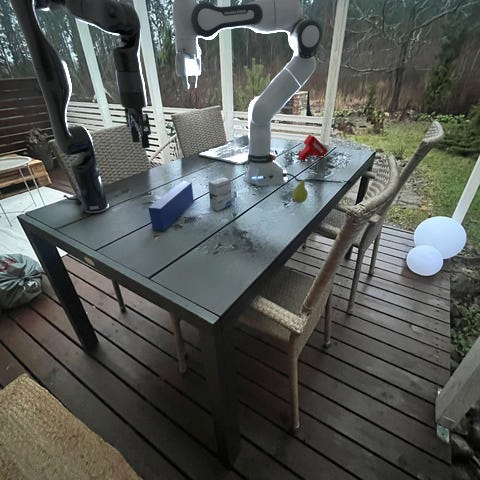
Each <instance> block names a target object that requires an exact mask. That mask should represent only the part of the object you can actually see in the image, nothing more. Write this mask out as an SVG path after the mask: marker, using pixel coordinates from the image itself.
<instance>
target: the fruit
mask: <svg viewBox="0 0 480 480" xmlns="http://www.w3.org/2000/svg"><path fill="white" fill-rule="evenodd" d="M310 177H311V175H310V174H309V175H308V176H307V177H305V179H301V180H302V181H299V182H298V184H297V185H296V186H295V187H294V188H293V190H292V191H291V198H292V200H293V201H294V202H295V203H297V204H301V203H304V202H305V201H306V200H307V198H308V196H309V195H308V190H307V189H306V184H305V183H306V181H305V180H306V179H310Z"/></svg>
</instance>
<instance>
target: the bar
mask: <svg viewBox="0 0 480 480" xmlns="http://www.w3.org/2000/svg"><path fill="white" fill-rule="evenodd" d="M194 201H195V200H194V192H193V183H192V181H182V180H181V181H180V182H179V183H177V184H176V185H175V186H174V187H172V188H170V190H168V191H167V192H166V193H164V194H163V195H162V196H161V197H159V198H158V199H157V200H156V201H155V202H153V203H152V204H151V205H149V206H148V212H149V213H148V214H149V217H150V222H151V227H152V230H153V231H158V232H166V230H167V229H169V227H170V226H172V224H173V223H174V222H175V221H176V220H177V219H178V218H179V217H180V216H181V215H183V213H184V212H185V211H186V210H187V209H188V208H189V207H190V206H191V205H192V204H193V203H194Z"/></svg>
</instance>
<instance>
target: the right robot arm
mask: <svg viewBox="0 0 480 480" xmlns="http://www.w3.org/2000/svg"><path fill="white" fill-rule="evenodd" d="M172 22H173V23H172V24H173V29H174V32H175V37H174V41H175V52H176V53H175V72H176V76H177V77H181V81H182V84H183V89H185V90H189V89H190V84H189V80H188V77H189V76H190V77H191V87H192V88H197V87H198V85H197V82H198V76H200V75H201V72H202V60H201V55H202V49H201V47H200V46H199V44H198V38H201V39H204V40H213V39H214V38H215V37H216V36H217V35H218V33H219V32H220V31H222V30H229V29H230V30H231V29H237V28H247V29H250V30H252V31H253V32H255V33H260V34H273V33H278V32H279V33H280V32H285V36H286V41H287V44H288V46H289V48H290V49H291V50H292V51H293V55H292V57H291V60H289V62H288V63H287V64H285V66H284V67H283V68H282V69H281V70H280V72H279V73H278V74H277V75H275V77H274V78H273V79H272V80H271V81H270V83H269V84H268V85H267V86H266V88H264V90H263V91H262V93H260V95H259V96H258V97H256V98H253V100H251V102H250V104H249V107H248V145H249V152H248V155H247V162H246V163H247V171H246V175H245V177H244V179H245V180H244V181H245V182H246V183H249V184H252V185H255V186H257V187H267V186H279V185H286V184H288V182H289V181H288V180H289V179H288V177H287V176H291V177H292V178H293V179H294V180H295V181H297V182H301V181H302V180H303V179H298V178H297V177H296V176H295V175H293V174H291V173H288V172H287V170H284V169H283V167H282V166H281V165H280V164H279V163H277V162H276V161H275V160H276V158H277V157H276V156H275V154H273V152H271V145H272V121H273V120H274V118H275V117H276V116H277V115H278V114H279V112H280V111H282V109H283V108H284V106H285V105H287V103H288V101H290V99H291V98H292V97H293V96H294V95H295V94H296V93H297V92H298V91H299V90H300V89H301V88H302V87H303V86H304V85H305V84H306V82H308V80H309V79H310V78H311V76H312V75H313V74H314V72H315V70H316V68H317V61H316V58H315V56H316V54H317V51H318V48H319V46H320V44H321V42H322V38H323V29H322V26H321V24H320V23H319V21H317V20H316V19H314V18H305V17H304V16H303V13H302V3H301V1H300V0H253V1H252V2H248V3H245V4H238V5H229V6H218V5H214V4H212V3H210V2H207V1H202V2H200V3H199V2H198V1H196V0H174V1H173V2H172ZM305 179H306V178H305ZM305 179H304V180H305ZM309 181H310V182H311V181H313V182H322V183H332V184H333V183H335V184H341V183H349V184H351V183H352V182H351V181H350V180H348V181H344V180H343V181H344V182H341V181H342V180H326V179H316V178H307V179H306V180H305V182H309Z"/></svg>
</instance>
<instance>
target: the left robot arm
mask: <svg viewBox="0 0 480 480" xmlns="http://www.w3.org/2000/svg"><path fill="white" fill-rule="evenodd" d="M9 3H10V6H11V8H12V11H13V14H14V16H15V18H16V20H17V23H18V26H19V28H20V30H21V33H22V35H23V36H22V37H23V38H24V41H25V43H26V47H27V49H28V54H29V56H30V59H31V63H32V67H33V70H34V73H35V75H36V80H37V83H38V85H39V87H40V90H41V93H42V96H43V99H44V102H45V106H46V109H47V113H48V117H49V121H50V125H51V129H52V133H53V137H54V141H55V144H56V146H57V148H58V149H59V151H60V153H62V154H63V155H65V156H73V155H77V157H76V159H75V160H74V161H73V162H71V163H70V164H69V168H70V171H71V173H72V176H73V180H74V182H75V185H76V188H77V189H76V191H77V194H78V197H79V198H78V197H69V196H68V195H67V194H64V195H63V198H66V199H67V200H69V201H78V202H79V203H80V204H81V206H82V208H83V210H84V211H85V213H86V214H90V215H96V214H101V213H104V212H106V211H108V210H109V209H110V205H109V203H108V199H107V195H106V192H105V189H104V185H103V181H102V179H101V175H100V171H99V169H98V164H97V163H98V160H97V155H96V152H95V147H94V143H93V139H92V136H91V134H90V133H89V131H88V130H87V128H85V127H84V126H82V125H74V126H69V127H68V123H67V108H68V104H69V101H70V98H71V93H72V82H71V78H70V73H69V70H68V67H67V63H66V62H65V59H64V58H63V57H62V55H61V54H60V53H59V51H58V50H57V49H56V47H55V46H54V44H52V42H51V41H50V39H49V38H48V37H47V36H46V33H45V32H44V30H43V29H42V26H41V24H40V22H39V19H38V15H37V14H36V11H35V10H38V11H59V12H60V11H61V12H64V13H66V14H69V15H70V17H72V18H74V19H76V20H78V21H80V22H83V23H84V24H89V25H91V26H95V27H96V28H98V29H100V30H101V31H104V32H106V33H108V34H110V35H111V34H112V35H115V36H120V37H119V38H120V40H119V45H116V46H114V47H113V48H112V51H111V52H112V53H111V54H112V59H113V65H114V69H115V77H116V79H115V80H116V85H117V89H118V95H119V100H120V106H121V107H122V108H124V110H123V111H124V115H125V121H126V127H127V128H128V129H129V131H130V134H131V139H132V142H133V143H139V142H140V141H141V147H142V149H149V148H150V147H151V146H150V139H149V136H150V135H152V131H151V123H150V119H149V114H148V113H145V112H144V111H143V108H147V107H148V101H147V94H146V87H145V81H144V77H143V73H142V65H141V60H140V48H141V28H142V27H141V20H140V17H139V14H138V11H136V9H135V7H134V6H133V5H131V4H129V3H127V2H123V1H118V0H9Z"/></svg>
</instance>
